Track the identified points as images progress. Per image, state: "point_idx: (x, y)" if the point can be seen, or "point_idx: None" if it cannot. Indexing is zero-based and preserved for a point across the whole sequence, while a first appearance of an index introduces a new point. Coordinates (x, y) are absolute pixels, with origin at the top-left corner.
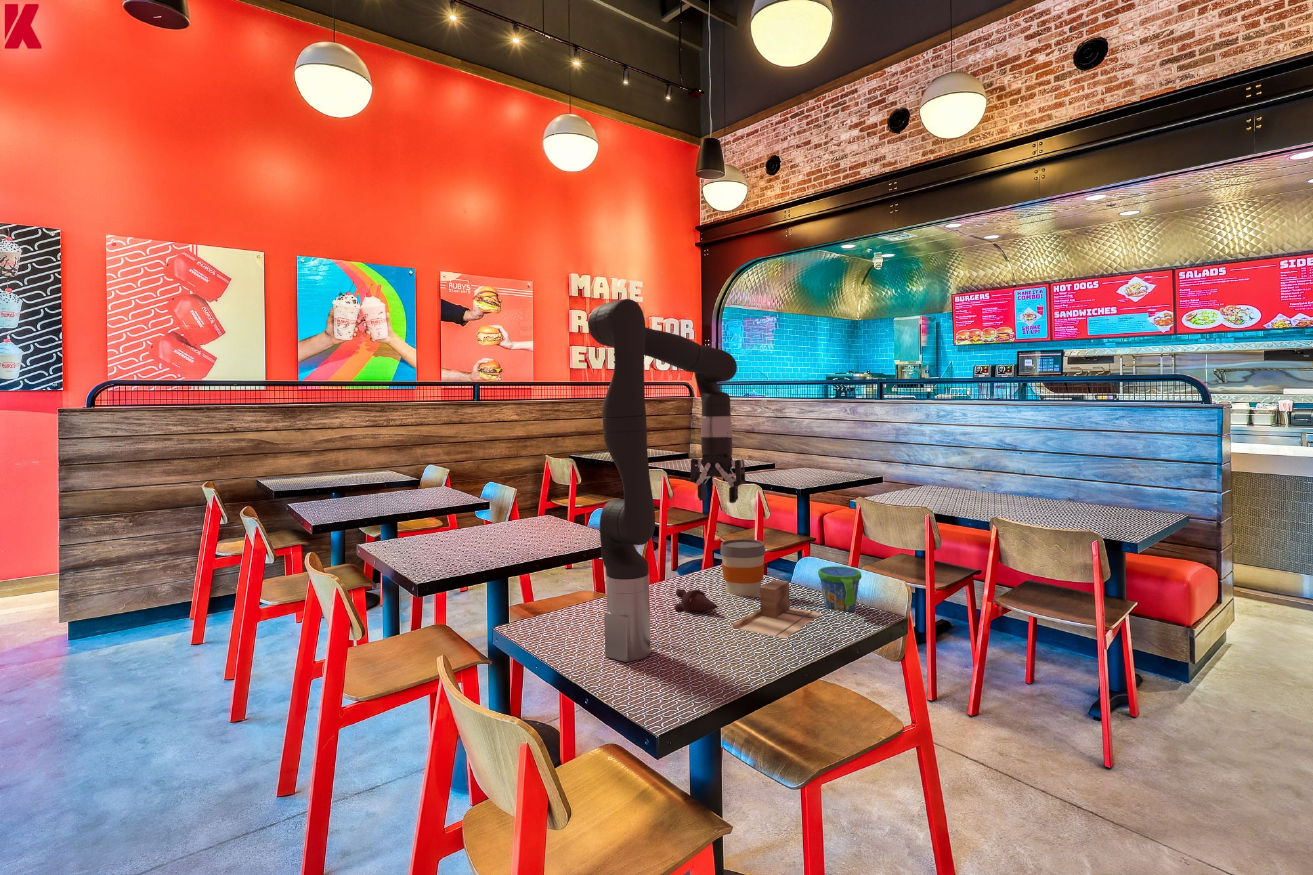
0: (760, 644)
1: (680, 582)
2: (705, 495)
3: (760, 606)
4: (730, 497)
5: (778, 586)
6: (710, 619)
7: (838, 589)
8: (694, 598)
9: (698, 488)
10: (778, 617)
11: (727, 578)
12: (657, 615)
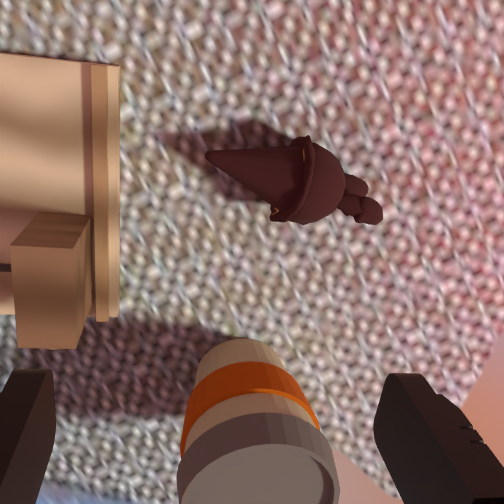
0: None
1: None
2: (390, 456)
3: (86, 225)
4: (15, 404)
5: (18, 284)
6: None
7: None
8: (293, 162)
9: (499, 478)
10: None
11: (275, 370)
12: (393, 119)
